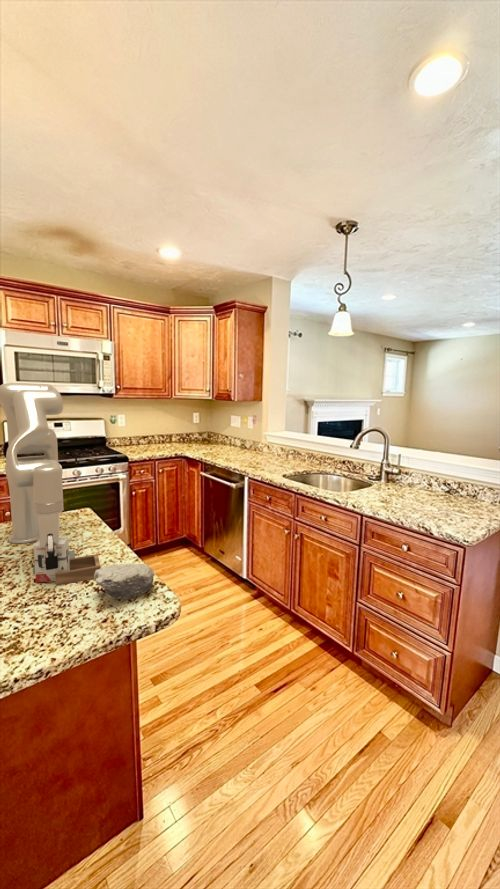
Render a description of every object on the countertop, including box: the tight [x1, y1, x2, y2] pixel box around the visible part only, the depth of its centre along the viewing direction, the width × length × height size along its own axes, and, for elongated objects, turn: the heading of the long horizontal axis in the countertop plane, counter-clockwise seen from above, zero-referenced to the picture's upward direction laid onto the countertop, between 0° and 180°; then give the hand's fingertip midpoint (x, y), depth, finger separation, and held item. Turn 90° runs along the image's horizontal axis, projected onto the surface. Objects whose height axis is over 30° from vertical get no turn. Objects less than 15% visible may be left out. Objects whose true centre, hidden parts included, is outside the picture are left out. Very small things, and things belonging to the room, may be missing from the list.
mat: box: [32, 549, 76, 575], centre depth 122 cm, size 12×12×1 cm
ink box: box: [33, 536, 70, 583], centre depth 110 cm, size 8×5×12 cm, turn 105°
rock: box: [93, 563, 155, 600], centre depth 103 cm, size 11×17×10 cm, turn 127°
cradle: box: [55, 553, 101, 587], centre depth 114 cm, size 10×12×4 cm
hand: (52, 563), depth 111 cm, fingers closed on ink box, 5 cm apart
